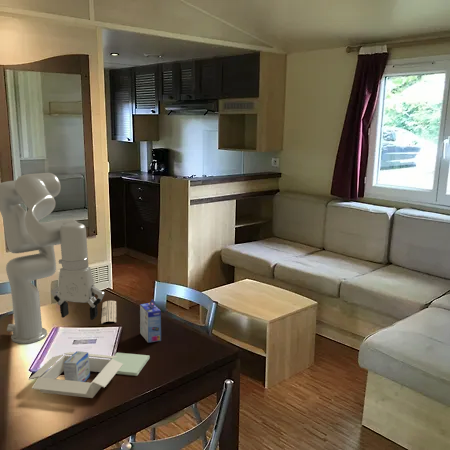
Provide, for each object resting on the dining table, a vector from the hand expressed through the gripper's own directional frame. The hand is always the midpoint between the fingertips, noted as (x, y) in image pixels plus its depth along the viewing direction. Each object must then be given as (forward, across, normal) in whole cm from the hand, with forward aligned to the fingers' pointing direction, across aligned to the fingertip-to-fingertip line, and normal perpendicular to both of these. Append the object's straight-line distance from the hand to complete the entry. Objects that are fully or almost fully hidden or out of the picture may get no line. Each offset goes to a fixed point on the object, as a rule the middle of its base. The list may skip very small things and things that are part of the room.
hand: (79, 317), depth 147 cm
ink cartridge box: (+21, +10, +34) cm, 41 cm away
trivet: (+21, +10, +12) cm, 26 cm away
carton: (+21, -1, -2) cm, 21 cm away
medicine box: (+22, -1, -2) cm, 22 cm away
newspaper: (+22, -17, +52) cm, 59 cm away
